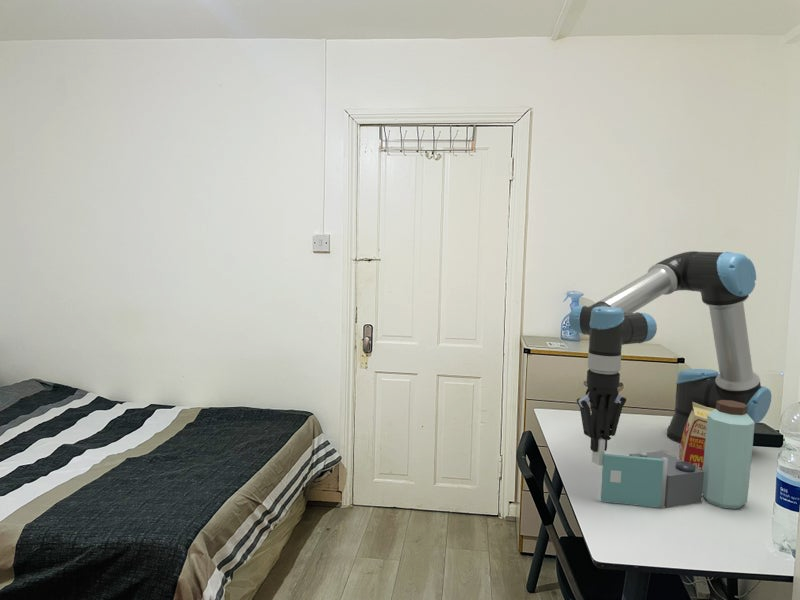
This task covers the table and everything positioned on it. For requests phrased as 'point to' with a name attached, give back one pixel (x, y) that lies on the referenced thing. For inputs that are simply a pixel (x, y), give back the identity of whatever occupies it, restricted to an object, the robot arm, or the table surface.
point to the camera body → (679, 480)
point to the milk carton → (695, 436)
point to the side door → (634, 480)
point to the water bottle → (728, 454)
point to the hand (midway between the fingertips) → (597, 463)
